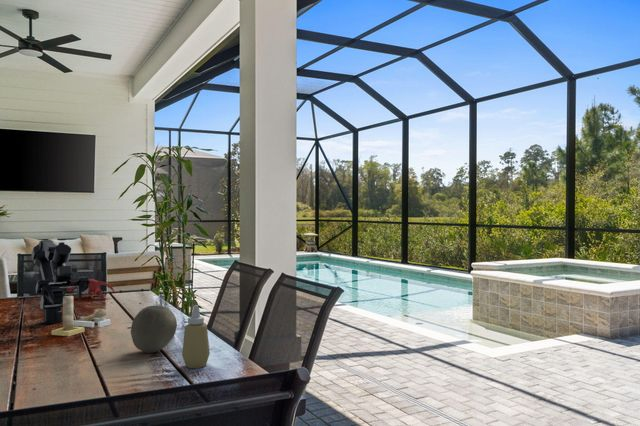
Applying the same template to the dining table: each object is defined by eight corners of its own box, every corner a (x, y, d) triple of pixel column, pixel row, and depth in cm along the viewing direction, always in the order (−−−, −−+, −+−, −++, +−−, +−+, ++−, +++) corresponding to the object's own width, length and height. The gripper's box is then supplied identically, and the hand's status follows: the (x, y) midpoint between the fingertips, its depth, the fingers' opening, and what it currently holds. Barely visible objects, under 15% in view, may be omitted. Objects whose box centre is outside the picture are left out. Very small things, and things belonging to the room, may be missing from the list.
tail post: (60, 333, 195) (60, 297, 195) (68, 331, 198) (68, 295, 198) (68, 334, 194) (68, 297, 194) (75, 332, 197) (75, 296, 197)
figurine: (69, 331, 208) (107, 319, 213) (66, 320, 207) (104, 308, 213) (70, 329, 211) (108, 317, 216) (66, 318, 211) (105, 307, 216)
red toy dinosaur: (71, 304, 286) (58, 286, 276) (78, 291, 293) (67, 273, 283) (117, 305, 282) (106, 287, 272) (124, 292, 288) (114, 274, 278)
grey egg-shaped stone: (151, 359, 159) (150, 311, 159) (121, 353, 166) (121, 307, 166) (185, 349, 171) (185, 304, 171) (156, 344, 178) (156, 301, 178)
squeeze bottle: (184, 362, 156) (184, 303, 156) (211, 361, 157) (211, 302, 157) (179, 370, 148) (179, 308, 148) (207, 369, 149) (207, 307, 149)
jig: (36, 333, 196) (36, 328, 196) (81, 321, 217) (81, 316, 218) (69, 336, 191) (69, 330, 191) (112, 323, 213) (112, 318, 213)
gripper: (37, 259, 195) (43, 291, 187) (88, 256, 207) (96, 287, 199) (32, 277, 202) (38, 310, 193) (83, 274, 213) (91, 304, 205)
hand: (67, 302), depth 197 cm, fingers open, 9 cm apart
